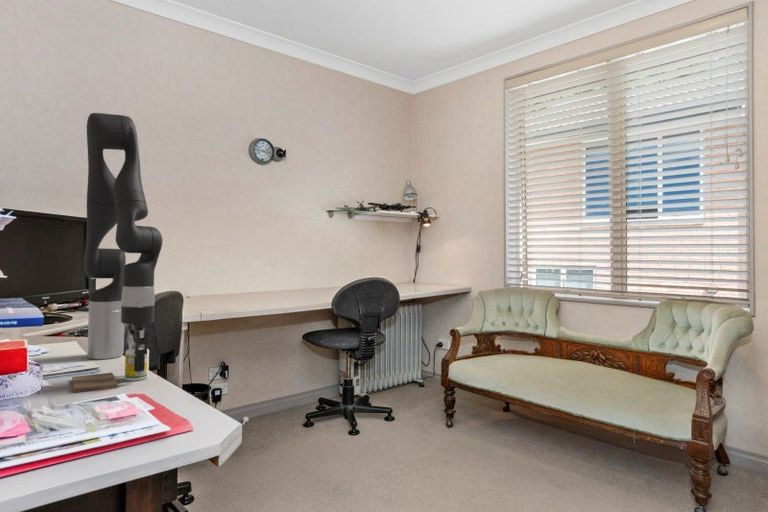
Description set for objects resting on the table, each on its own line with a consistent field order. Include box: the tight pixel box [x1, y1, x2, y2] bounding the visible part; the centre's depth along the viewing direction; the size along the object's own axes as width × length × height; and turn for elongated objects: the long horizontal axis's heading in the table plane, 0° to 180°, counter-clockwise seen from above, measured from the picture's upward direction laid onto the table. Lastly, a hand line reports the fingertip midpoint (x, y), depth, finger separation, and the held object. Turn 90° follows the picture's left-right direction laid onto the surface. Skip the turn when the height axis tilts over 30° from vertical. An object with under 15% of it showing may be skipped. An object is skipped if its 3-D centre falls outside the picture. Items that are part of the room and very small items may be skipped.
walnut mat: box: [71, 372, 118, 394], centre depth 113 cm, size 13×9×1 cm, turn 35°
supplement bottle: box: [124, 341, 150, 382], centre depth 119 cm, size 5×5×10 cm
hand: (136, 367), depth 118 cm, fingers open, 8 cm apart
